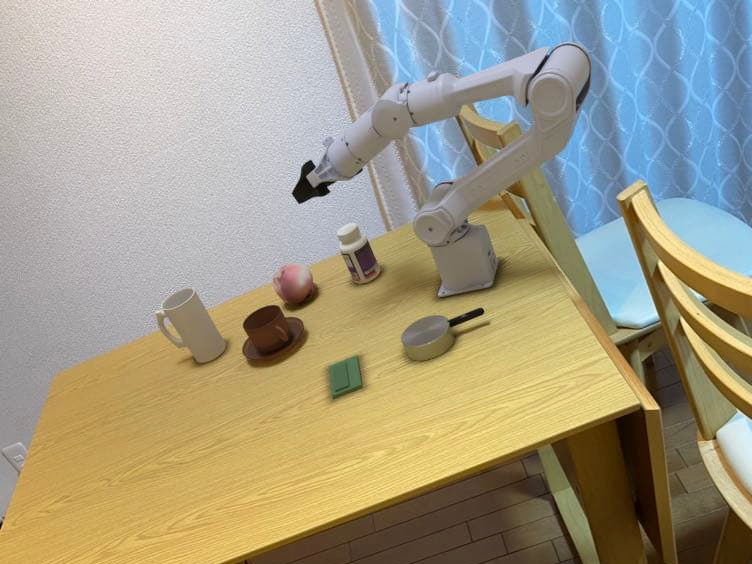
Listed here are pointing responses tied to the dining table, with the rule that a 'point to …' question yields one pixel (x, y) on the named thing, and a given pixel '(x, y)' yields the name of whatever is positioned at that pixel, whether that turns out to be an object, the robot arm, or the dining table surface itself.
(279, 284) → the onion
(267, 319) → the cup and saucer
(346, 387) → the green light switch
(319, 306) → the dining table surface
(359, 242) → the pill bottle
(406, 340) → the pan
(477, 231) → the robot arm
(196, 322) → the mug
